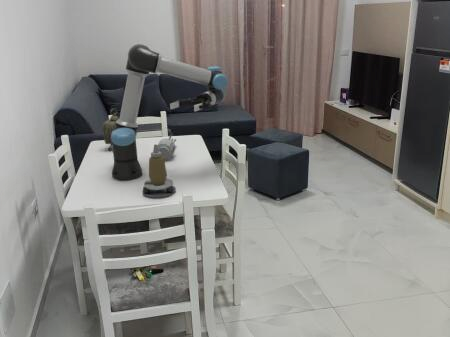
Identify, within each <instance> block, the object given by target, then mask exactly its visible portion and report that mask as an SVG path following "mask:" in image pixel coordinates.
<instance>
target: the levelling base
mask: <svg viewBox="0 0 450 337" xmlns="http://www.w3.org/2000/svg"><path fill="white" fill-rule="evenodd" d="M174 194H176V187H175V186H174V181H173V180H172V179H170V178H168V177H166V180H165V183H164V184H160V185H154V184H152V182H151V180H150V179H147V180H146V181H145V182H144V184H143V188H142V195H143V197H145V198H147V199H156V200H157V199H165V198H169V197H171V196H173V195H174Z"/></svg>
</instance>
